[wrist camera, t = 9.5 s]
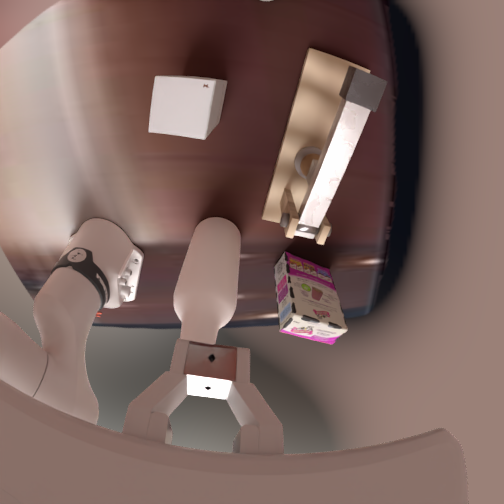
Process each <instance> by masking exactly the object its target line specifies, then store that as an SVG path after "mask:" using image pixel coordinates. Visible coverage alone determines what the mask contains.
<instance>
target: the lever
mask: <svg viewBox="0 0 504 504" xmlns="http://www.w3.org/2000/svg"><path fill="white" fill-rule="evenodd" d="M386 84H387V81H385V80H383V79H380V78H378V77H376V76H374V75H372V74H369V73H367V72H365V71H363V70H360V69H358V68H355V67H352V66H349V67H348V70H347V73H346V76H345V79H344V82H343V84H342V87H341V90H340V93H339V96H341V97H342V99H341V102H340V104H339V107H338V110H337V113H336V115H335V118H334V121H333V123H332V126H331V129H330V131H329V134H328V137H327V139H326V142H325V145H324V147H323V150H322V153H321V155H320V158H319V160H314V159H313V160H312V163H311V166H310V168H309V171H308V174H307V176H306V179H307V183H308V189H307V191H306V194H305V196H304V199H303V201H302V204H301V206H300V209H299V211H298V216H299V222H298V225H297V228H296V231H295V234H294V235H296V236H301V237H306V238H310V239H313V238H314V236H315V235H317V234H318V232H319V230H320V224H321V222H322V220H323V218H324V215H325V213H326V211H327V209H328V207H329V205H330V203H331V200H332V198H333V196H334V194H335V192H336V190H337V187H338V185H339V183H340V181H341V179H342V176H343V174H344V172H345V170H346V167H347V165H348V163H349V160H350V158H351V156H352V153H353V151H354V149H355V146H356V144H357V142H358V139H359V137H360V135H361V132H362V130H363V127H364V125H365V122H366V120H367V118H368V115H369V113H370V110H372V111H374V112H376V110H377V107H378V105H379V102H380V100H381V97H382V95H383V92H384V90H385V87H386Z"/></svg>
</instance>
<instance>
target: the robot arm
mask: <svg viewBox="0 0 504 504" xmlns="http://www.w3.org/2000/svg"><path fill="white" fill-rule="evenodd" d="M143 258H144V254H143V252H142V251H141V250H140V249H139V248H137V247H136V246H135V245H133V243H132V242H131V241H130V239H129V238H128V236H127V235H126V234H125V232H124V231H123V230H122V229H121V228H119V227H118V226H117V225H115V224H114V223H112V222H110V221H108V220H105V219H100V218H94V219H89V220H87V221H85V222H84V223H83V224H82V225H81V227H80V228H79V230H78V232H77V233H76V234H74V235H72V236H71V237H70V239H69V245H68V246H67V248H66V249H65V251H64V252H63V254H62V256H61V257H60V260H59V261H58V262H57V263H56V264H55V266H54V268H53V270H52V272H51V276H50V277H49V279H48V280H47V281H46V283H45V284H44V286H43V287H42V288H41V290H40V291H39V293H38V294H37V296H36V297H35V301H34V307H33V313H34V319H35V322H36V324H37V327H38V329H39V331H40V334H41V339H42V348H41V347H40V346H39V345H38V344H36V343H35V342H34V341H33V340H32V339H31V338H30V337H29V336H28V335H27V334H26V333H25V332H24V331H23V330H22V329H21V328H20V327H19V326H18V325H17V324H16V323H15V322H14V321H12V320H11V319H10V318H9V317H7V316H6V315H5V314H3V313H2V312H1V311H0V504H468V482H467V472H466V465H465V459H464V453H463V449H462V446H461V444H460V442H459V441H458V440H457V439H456V438H455V437H454V436H453V435H452V434H451V433H450V432H449V431H447V430H446V429H444V428H438V429H435V430H431V431H428V432H425V433H422V434H418V435H415V436H411V437H407V438H403V439H399V440H395V441H391V442H386V443H382V444H377V445H371V446H366V447H360V448H354V449H347V450H339V451H330V452H320V453H306V454H284V445H283V425H282V424H281V422H280V421H279V420H278V418H277V417H276V416H275V414H274V413H273V411H272V410H271V409H270V407H269V406H268V404H267V403H266V401H265V400H264V399H263V397H262V396H261V395H260V393H259V392H258V390H257V388H256V387H255V385H254V384H252V383H250V350H249V348H238V347H233V346H223V345H216V344H207V343H201V342H195V341H190V340H184V339H177V341H176V345H175V349H174V353H173V358H172V362H171V367H170V372H167V371H166V372H165V373H164V374H163V375H161V376H160V377H159V378H158V379H157V380H156V381H155V382H154V383H152V384H151V385H150V386H149V387H148V388H147V389H146V390H145V391H143V392H142V393H141V394H140V395H139V396H138V397H137V398H136V399H134V400H133V401H132V402H131V403H130V404H129V407H128V410H127V414H126V418H125V423H124V427H123V431H122V433H120V432H117V431H113V430H110V429H107V428H104V427H101V426H98V425H96V424H97V421H98V416H99V407H98V402H97V399H96V396H95V395H94V393H93V391H92V389H91V387H90V383H89V381H88V377H87V372H86V366H85V345H86V340H87V336H88V333H89V330H90V328H91V325H92V323H93V320H94V318H95V316H98V317H100V316H99V315H97V314H102V313H101V312H98V311H99V310H101V309H102V308H103V307H105V308H117V307H119V306H121V304H122V302H123V301H132V300H134V299H135V297H136V293H137V288H138V282H139V277H140V272H141V267H142V263H143ZM136 259H138V260H136ZM187 394H191V395H198V396H207V397H213V398H220V399H227V402H228V404H229V406H230V408H231V409H232V411H233V413H234V415H235V417H236V418H237V420H238V422H239V424H240V425H241V428H240V430H239V432H238V434H237V436H236V437H235V439H234V441H233V453H228V452H217V451H208V450H200V449H193V448H187V447H180V446H175V445H171V443H172V435H173V432H172V429H171V425H170V421H169V417H168V416H169V415H170V414H171V413H172V412H173V411H174V410H175V408H176V407H177V406H178V405H179V404H180V403H181V402H182V401H183V400H184V398H185V397H186V396H187Z"/></svg>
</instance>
